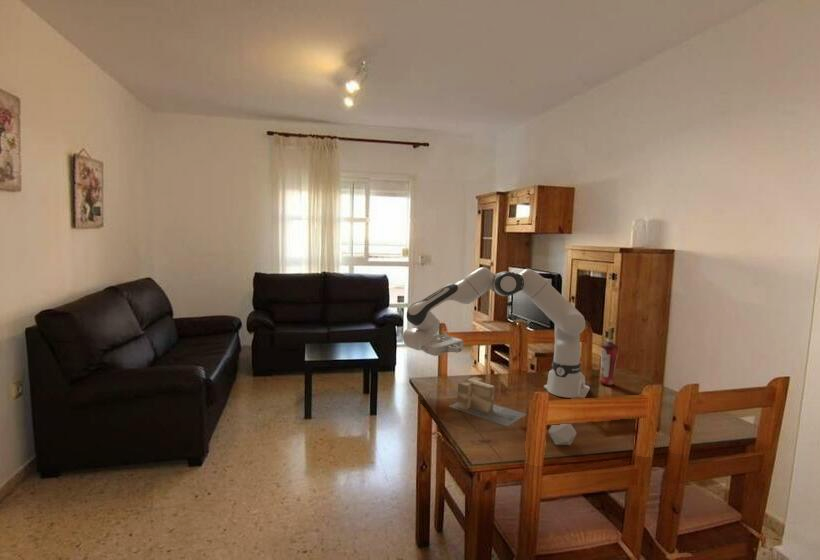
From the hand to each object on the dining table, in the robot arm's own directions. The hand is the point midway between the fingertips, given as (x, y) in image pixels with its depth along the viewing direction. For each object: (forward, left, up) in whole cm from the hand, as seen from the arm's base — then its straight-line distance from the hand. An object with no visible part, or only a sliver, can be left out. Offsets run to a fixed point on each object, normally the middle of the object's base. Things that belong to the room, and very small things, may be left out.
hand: (459, 350), depth 194 cm
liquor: (-71, +38, -22) cm, 84 cm away
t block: (0, +10, -22) cm, 24 cm away
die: (+6, +48, -22) cm, 53 cm away
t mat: (0, +15, -22) cm, 26 cm away
